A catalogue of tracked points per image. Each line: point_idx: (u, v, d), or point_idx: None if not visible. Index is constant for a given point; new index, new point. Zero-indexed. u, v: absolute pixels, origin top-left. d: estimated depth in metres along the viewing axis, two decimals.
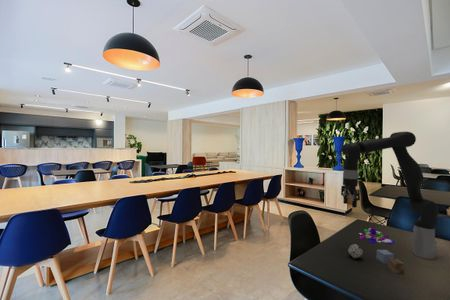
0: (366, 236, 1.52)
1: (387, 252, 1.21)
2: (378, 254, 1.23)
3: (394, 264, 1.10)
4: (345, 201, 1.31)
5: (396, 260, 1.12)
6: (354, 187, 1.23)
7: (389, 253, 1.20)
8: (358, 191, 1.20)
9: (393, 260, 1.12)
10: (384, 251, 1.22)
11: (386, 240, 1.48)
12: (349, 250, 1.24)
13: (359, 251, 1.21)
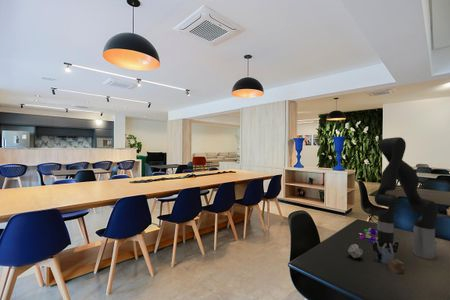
0: (366, 236, 1.52)
1: (387, 252, 1.21)
2: None
3: (394, 264, 1.10)
4: None
5: (396, 260, 1.12)
6: None
7: (389, 253, 1.20)
8: None
9: (393, 260, 1.12)
10: (384, 251, 1.22)
11: None
12: (349, 250, 1.24)
13: (359, 251, 1.21)
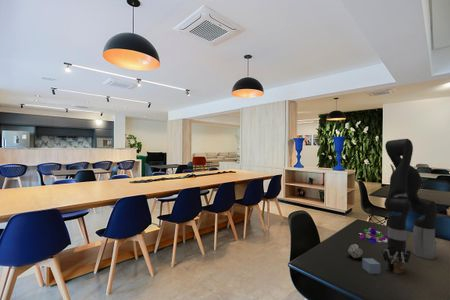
0: (366, 236, 1.53)
1: (373, 261, 1.11)
2: (364, 263, 1.12)
3: (394, 264, 1.10)
4: None
5: (396, 260, 1.12)
6: None
7: (375, 262, 1.09)
8: None
9: None
10: (370, 260, 1.12)
11: (386, 240, 1.48)
12: (349, 250, 1.24)
13: (359, 251, 1.21)
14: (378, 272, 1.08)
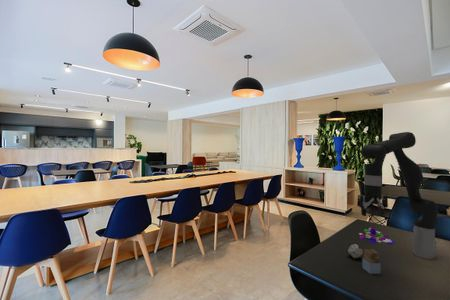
0: (366, 236, 1.53)
1: None
2: (364, 263, 1.12)
3: (369, 254, 1.09)
4: None
5: (372, 250, 1.12)
6: None
7: None
8: None
9: (369, 250, 1.12)
10: None
11: (386, 240, 1.48)
12: (349, 250, 1.24)
13: (359, 251, 1.21)
14: (378, 272, 1.08)
